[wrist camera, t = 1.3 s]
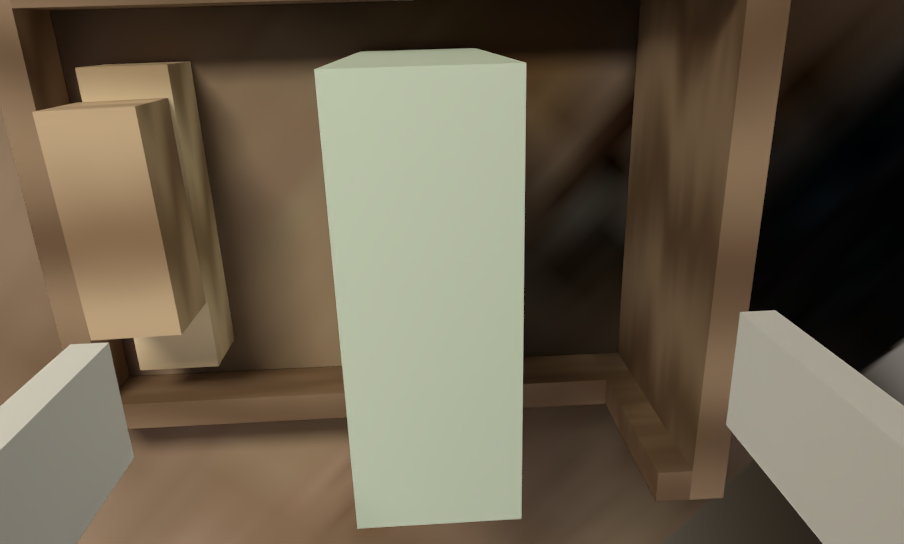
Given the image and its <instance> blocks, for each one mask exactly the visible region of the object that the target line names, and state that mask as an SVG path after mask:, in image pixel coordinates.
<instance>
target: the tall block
mask: <svg viewBox="0 0 904 544" xmlns="http://www.w3.org/2000/svg"><path fill="white" fill-rule="evenodd" d="M314 73H315V83H316V94H317V105H318V115H319V126H320V136H321V147H322V158H323V168H324V179H325V189H326V200H327V211H328V221H329V232H330V242H331V253H332V264H333V274H334V285H335V296H336V306H337V317H338V327H339V338H340V349H341V359H342V370H343V380H344V391H345V402H346V412H347V423H348V433H349V444H350V455H351V465H352V476H353V486H354V497H355V508H356V518H357V529H358V528H375V527H392V526H409V525H425V524H442V523H459V522H476V521H493V520H509V519H521V516H522V422H523V328H524V233H525V139H526V63H525V62H522V61H518V60H515V59H512V58H508V57H505V56H501V55H498V54H494V53H491V52H487V51H484V50H480V49H477V48H453V49H420V50H387V51H360V52H358V53H355V54H352V55H350V56H347V57H345V58H342V59H340V60H337V61H334V62H332V63H329V64H327V65H324V66H322V67H319V68H316V69H314Z"/></svg>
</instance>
